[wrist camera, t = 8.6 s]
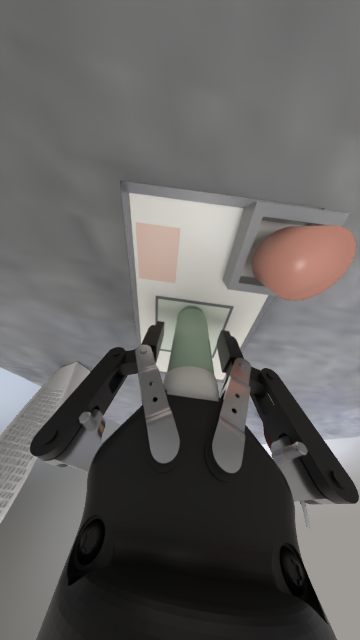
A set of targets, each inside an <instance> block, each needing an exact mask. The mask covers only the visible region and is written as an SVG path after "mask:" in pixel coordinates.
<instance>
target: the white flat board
mask: <svg viewBox="0 0 360 640" xmlns="http://www.w3.org/2000/svg"><path fill="white" fill-rule="evenodd" d="M120 185H121V194H122V204H123V213H124V223H125V232H126V242H127V251H128V261H129V270H130V280H131V289H132V299H133V308H134V318H135V327H136V337H137V346H140V345H141V344H142V341H143V339H144V337H145V335H146V333H147V330H148V328H149V327H150V326H151V325H156V323H157V321H162V322H165V324H164V337H163V341H162V344H161V348H160V352H159V355H158V359H157V363H156V366H158V369H159V372H160V374H167V370H168V365H169V359H170V354H171V348H172V343H173V337H174V332H175V327H176V321H177V317H178V315H179V314H180V313H181V311H182V310H183V309H184V308H185V307H188V306H196V307H198V308H200V309H201V310H202V312H203V313H204V315H205V316H206V319H207V325H208V332H209V339H210V346H211V354H212V361H213V368H214V375H215V377H216V380H217V382H223V383H224V380H225V378H226V376H227V375H226V373H222V370H221V365H220V360H219V355H218V350H217V340H218V337H219V335H220V332H221V330H226V331H229V332H230V335H231V336H233V337H234V338H235V339H236V340H237V342H238V345H239V348H240V350H241V353H243V351H244V349H245V347H246V346H247V344H248V342H249V340H250V338H251V337H252V335H253V333H254V331H255V330H256V328H257V326H258V324H259V323H260V321H261V319H262V317H263V316H264V314H265V312H266V310H267V309H268V307H269V305H270V303H271V302H272V300H273V298H274V296H277V295H276V294H275V293H273V292H272V291H271V290H270V289H268V288H267V287H266V286H265V285H263V284H262V283H261V282H260V281H258V280H257V279H256V277H255V276H254V274H253V270H252V262H253V258H254V255H255V253H256V251H257V249H258V247H259V246H260V245H261V243H262V242H263V241H264V240H265V239H266V238H267V237H268V236H270V235H271V234H272V233H274V232H275V231H277V230H279V229H282V228H285V227H289V226H323V225H335V226H341V227H342V226H343V224H344V223H345V221H346V220H347V218H348V217H349V215H350V214H349V213H341V212H334V211H326V210H324V208H318V207H310V206H303V205H295V204H288V203H281V202H273V201H266V200H258V199H251V198H244V197H236V196H229V195H221V194H214V193H207V192H199V191H192V190H184V189H177V188H170V187H162V186H155V185H147V184H140V183H133V182H125V181H120Z"/></svg>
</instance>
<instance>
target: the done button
mask: <svg viewBox="0 0 360 640" xmlns="http://www.w3.org/2000/svg"><path fill="white" fill-rule="evenodd" d="M355 251H356V242H355V238H354V236H353V234H352V233H351V232H350V231H349V230H348V229H346V228H344V227H341V226H335V225H323V226H289V227H285V228H282V229H279V230H277V231H275V232H274V233H272V234H271V235H270V236H268V237H267V238H266V239H265V240H264V241H263V242H262V243H261V245H260V246H259V247H258V249H257V251H256V253H255V255H254V258H253V262H252V270H253V274H254V276H255V277H256V279H257V280H258V281H260V282H261V283H262V284H263V285H265V286H266V287H267V288H268V289H270V290H271V291H272V292H273V293H275V294H276V295H277V296H278V297H280V298H282V299H285V300H292V301H295V300H303V299H307V298H310V297H313V296H315V295H318V294H320V293H321V292H323V291H325V290H326V289H328V288H329V287H331V286H332V285H333V284H334V283H336V282H337V281H338V280H339V279H340V278H341V277H342V276H343V274H344V273H345V272H346V271H347V269H348V268H349V266H350V264H351V263H352V260H353V258H354V255H355Z"/></svg>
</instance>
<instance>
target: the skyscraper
mask: <svg viewBox="0 0 360 640" xmlns="http://www.w3.org/2000/svg"><path fill="white" fill-rule="evenodd" d="M89 373H90V371H89V370H88V369H86V368H85V367H84V366H82V365H81V364H80V363H78V361H77V362H75V363H72V364H70V365H67V366H64V367H60V368H59V369H58V370H57V371H56V372H55V374H54V375H53V376H52V377H51V378H50V379H49V380H48V381H47V382H46V383H45V384H44V385H43V386H42V388H41V389H40V390H39V391H38V392H37V393H36V394H35V395H34V397H33V398H32V399H31V400H30V401H29V402H28V403H27V404H26V406H25V407H24V408H23V409H22V410H21V411H20V413H19V414H18V415H17V416H16V417H15V419H14V420H13V421H12V422H11V423H10V424H9V426H8V427H7V428H6V429H5V430H4V432H3V433H2V434H1V435H0V523H1V521H2V520H3V518H4V516H5V515H6V513H7V511H8V510H9V508H10V506H11V505H12V503H13V501H14V500H15V498H16V496H17V494H18V493H19V491H20V489H21V487H22V485H23V484H24V482H25V480H26V478H27V477H28V474H29V473H30V471H31V469H32V467H33V465H34V463H35V461H36V460H37V458H38V457H36V456H33V455H32V454H31V452H30V444H31V442H32V440H33V438H34V436H35V435H36V434H37V432H38V431H39V430H40V429H41V428H42V427H43V426H44V424H45V423H46V422H47V421H48V420H49V419H50V418H51V417H52V415H53V414H54V413H55V412H56V411H57V410H58V409H59V407H60V406H61V405H62V404H63V403H64V402H65V401H66V399H67V398H68V397H69V396H70V395H71V394H72V393H73V392H74V390H75V389H76V388H77V387H78V386H79V385H80V384H81V382H82V381H83V380H84V379H85V378H86V377H87V376H88V375H89Z"/></svg>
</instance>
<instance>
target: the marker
mask: <svg viewBox="0 0 360 640" xmlns="http://www.w3.org/2000/svg"><path fill="white" fill-rule="evenodd" d="M163 386H164V389H166V390H167V394H169V395H176V396H183V397H190V398H197V399H204V400H211V401H218V398H219V392H218V385H217V380H216V377H215V375H214V368H213V361H212V354H211V346H210V339H209V332H208V325H207V319H206V316H205V315H204V313H203V312H202V310H201V309H200V308H198V307H196V306H188V307H185V308H184V309H183V310H182V311H181V313H180V314H179V315H178V317H177V321H176V327H175V332H174V337H173V343H172V348H171V354H170V359H169V365H168V370H167V374H166V376H165V379H164V384H163Z"/></svg>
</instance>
